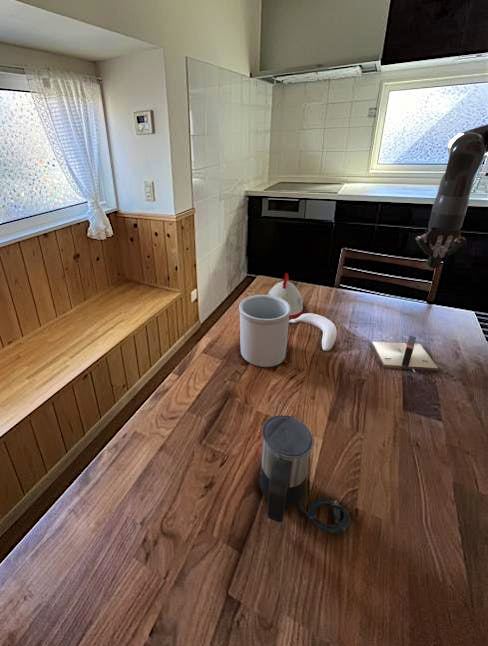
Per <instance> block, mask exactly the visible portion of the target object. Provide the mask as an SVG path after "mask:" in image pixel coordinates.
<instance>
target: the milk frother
mask: <svg viewBox="0 0 488 646" xmlns="http://www.w3.org/2000/svg"><path fill="white" fill-rule="evenodd" d="M261 436H262V449H261V461H260V462H261V463H260V472H259V487H260V490H261V492H262V493H263V495H264V497H265V498H266V499H267V511H266V515H267V518H268V519H270V520H272V521H274V522H277V523H282V522H283V521H284V517H285V516H284V515H285V508H290V507H294V506H296V507H297V508H298V509H299V511H301V514H302V515H303V516H304V517H305V518H306V520H308V522H309V523H310V524H311V525H312V526H313V527H314V528H316V529H317V530H319V531H321V532H322V533H325V534H328V535H339V534H342V533H344V532H346V531H348V530H349V528H350V526H351V523H352V519H351V515H350V512H349V511H348V510H347V509H346V508H345V507H344V505H342V504H341V503H339V502H338V501H337V500H332V499H328V498H317V499H316V500H313V501H311V503H309V505H308V507H307V511H306V509H305V508H304V507H303V505H302V504H301V502H302V500H303V499H304V496H305V493H306V481H307V473H308V468H309V467H308V466H309V461H310V455H311V450H312V449H313V446H314V437H313V434H312V432H311V430H310V429H309V427H307V425H306V424H305V423H304V422H302V421H301V420H299V419H298V418H295V417H293V416H291V415H285V414H283V415H282V414H281V415H280V414H279V415H273V416H272V417H271V416H270V417H269V418H268V419H267V420H266V421H264V423H263V425H262V428H261ZM322 506H330V507H329V508H330V510H329V511H330V514H332V523H333V524H327V523H324V522H322V521H321V520H320V519H319V518H317V516H316V514H315V513H316V511H317V509H319V508H320V507H322Z"/></svg>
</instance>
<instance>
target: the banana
mask: <svg viewBox="0 0 488 646" xmlns="http://www.w3.org/2000/svg"><path fill="white" fill-rule="evenodd" d="M289 323H293V324H296V323H303V324H310V325H313V326H315V327H316V328H318V329H320V331H322V338H321V348H322V350H323V351H325V352H329V351H330V350H331V349H333V347H334V345H335V343H336V340H337V334H338V332H337V331H338V330H337V327H336V325H335V323H334V322H332V320H330V319H329V318H326V317H325V316H323V315H320V314H316V313H313V312H312V313H311V312H309V313H308V312H307V313H302V314H301V315H300V316H299V317H297V318H294V319H289Z"/></svg>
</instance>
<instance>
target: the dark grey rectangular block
mask: <svg viewBox="0 0 488 646" xmlns="http://www.w3.org/2000/svg"><path fill="white" fill-rule="evenodd" d="M407 339H408V340H407V342H406V344H407V346H406V350H405V354H404V358H403V362H402V365H404V366H407V367H408V366H409V362H410V359H411V355H412V352H413V348H414V344H416V343H415V342H416V339H417V337H416V336H413V335H408V338H407Z"/></svg>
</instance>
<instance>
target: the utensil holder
mask: <svg viewBox="0 0 488 646" xmlns="http://www.w3.org/2000/svg"><path fill="white" fill-rule="evenodd" d="M238 312H239V337H240V338H239V340H240V341H239V344H240V354H241V356H242V358H243V359H244V360H245V361H246V362H247V363H250V364H251V365H254V366H257V367H262V368H263V367H264V368H269V367H270V368H271V367H276V366H278V365H279V364H281V363H282V362H284V360H285V359H286V353H287V345H288V333H289V323H290V322H289V320H290V319H289V315H290V306H289V304H288V303H287V302H286V301H285V300H283V299H281V298H279V297H276V296H272V295H267V294H256V295H251V296H247V297H245V298H244V299H242V300H241V301H240V303H239V305H238Z"/></svg>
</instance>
